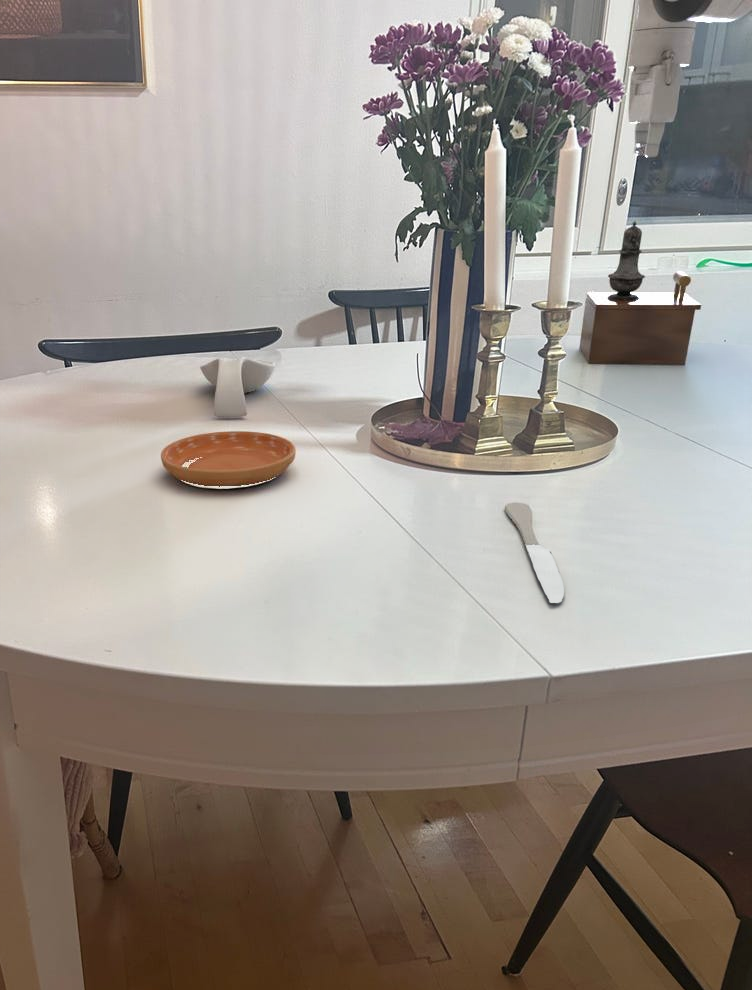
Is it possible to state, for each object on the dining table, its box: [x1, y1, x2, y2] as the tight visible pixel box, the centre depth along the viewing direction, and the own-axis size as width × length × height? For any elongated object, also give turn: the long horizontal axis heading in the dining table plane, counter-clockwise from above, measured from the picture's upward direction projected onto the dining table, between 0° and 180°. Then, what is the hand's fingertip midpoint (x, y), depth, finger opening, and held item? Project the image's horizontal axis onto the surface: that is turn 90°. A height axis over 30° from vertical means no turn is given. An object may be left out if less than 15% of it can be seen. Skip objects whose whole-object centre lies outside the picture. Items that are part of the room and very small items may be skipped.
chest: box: [578, 296, 696, 366], centre depth 161 cm, size 16×13×9 cm
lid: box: [585, 270, 702, 311], centre depth 157 cm, size 16×13×5 cm
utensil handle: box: [504, 502, 540, 545], centre depth 89 cm, size 1×24×3 cm
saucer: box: [160, 430, 297, 487], centre depth 111 cm, size 16×16×3 cm
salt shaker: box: [607, 220, 646, 301], centre depth 156 cm, size 6×6×12 cm
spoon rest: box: [199, 356, 276, 418], centre depth 141 cm, size 24×12×7 cm, turn 179°
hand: (644, 156), depth 148 cm, fingers open, 8 cm apart
